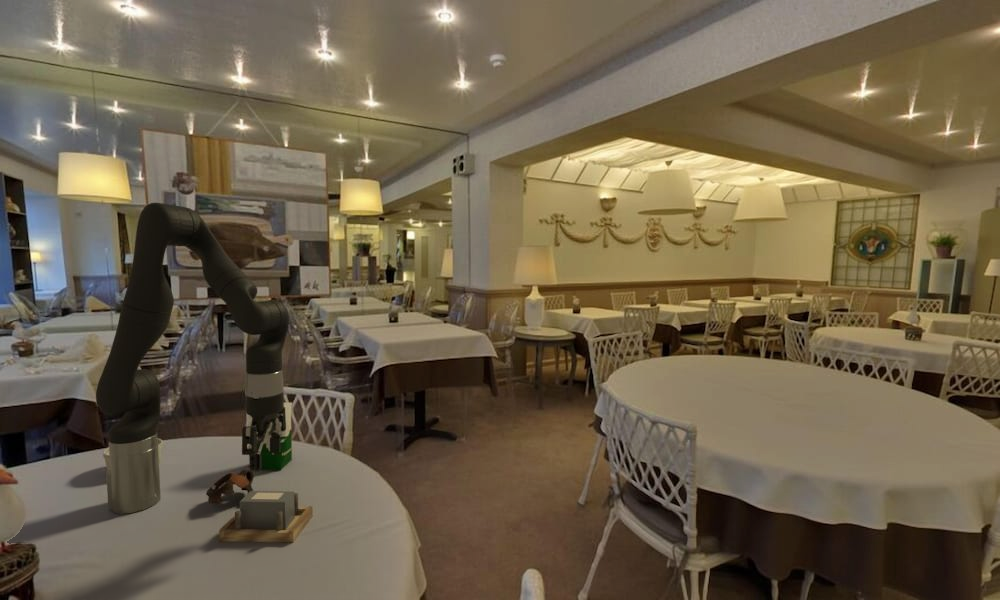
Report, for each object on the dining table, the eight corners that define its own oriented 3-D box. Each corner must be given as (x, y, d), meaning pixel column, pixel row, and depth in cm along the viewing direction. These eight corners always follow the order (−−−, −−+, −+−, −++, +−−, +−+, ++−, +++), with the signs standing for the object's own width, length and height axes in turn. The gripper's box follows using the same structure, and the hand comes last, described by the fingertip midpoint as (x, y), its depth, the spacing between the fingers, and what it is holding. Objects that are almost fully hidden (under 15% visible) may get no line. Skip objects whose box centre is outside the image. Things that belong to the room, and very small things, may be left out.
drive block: (240, 529, 100) (239, 501, 99) (251, 517, 104) (250, 490, 103) (285, 529, 100) (284, 501, 99) (294, 518, 104) (294, 491, 104)
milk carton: (267, 458, 137) (265, 394, 135) (296, 458, 137) (295, 395, 135) (251, 471, 128) (249, 403, 127) (282, 472, 128) (280, 404, 126)
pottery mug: (245, 514, 108) (223, 489, 106) (215, 526, 110) (193, 502, 108) (271, 478, 119) (252, 455, 117) (243, 490, 121) (224, 467, 119)
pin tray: (219, 541, 97) (218, 514, 96) (245, 514, 107) (244, 490, 106) (293, 542, 97) (292, 516, 96) (312, 516, 107) (312, 492, 106)
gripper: (264, 381, 106) (265, 447, 107) (228, 400, 92) (230, 476, 93) (296, 382, 106) (296, 448, 108) (264, 401, 92) (266, 477, 93)
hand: (265, 461), depth 100 cm, fingers open, 8 cm apart
